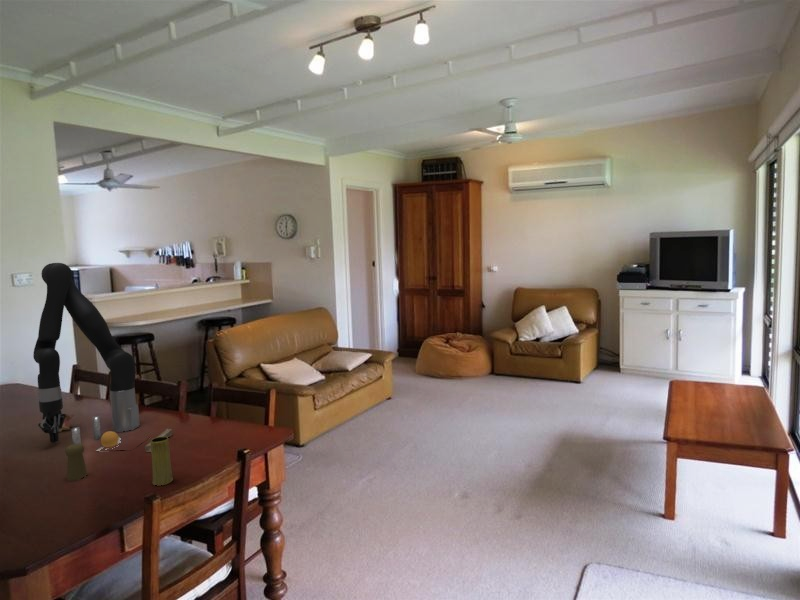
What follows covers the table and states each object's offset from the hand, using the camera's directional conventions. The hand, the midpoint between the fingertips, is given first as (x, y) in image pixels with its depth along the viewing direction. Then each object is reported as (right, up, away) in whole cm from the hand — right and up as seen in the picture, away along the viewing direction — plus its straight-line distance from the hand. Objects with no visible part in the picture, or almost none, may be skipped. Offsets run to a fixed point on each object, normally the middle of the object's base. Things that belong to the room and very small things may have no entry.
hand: (54, 441), depth 204 cm
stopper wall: (+41, -1, -1) cm, 41 cm away
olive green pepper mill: (+27, -4, -29) cm, 40 cm away
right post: (+13, -1, +6) cm, 15 cm away
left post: (+13, -2, -7) cm, 15 cm away
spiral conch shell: (-9, 0, +19) cm, 21 cm away
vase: (+58, -4, -35) cm, 67 cm away
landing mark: (+27, -1, 0) cm, 27 cm away
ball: (+23, +2, -3) cm, 23 cm away
